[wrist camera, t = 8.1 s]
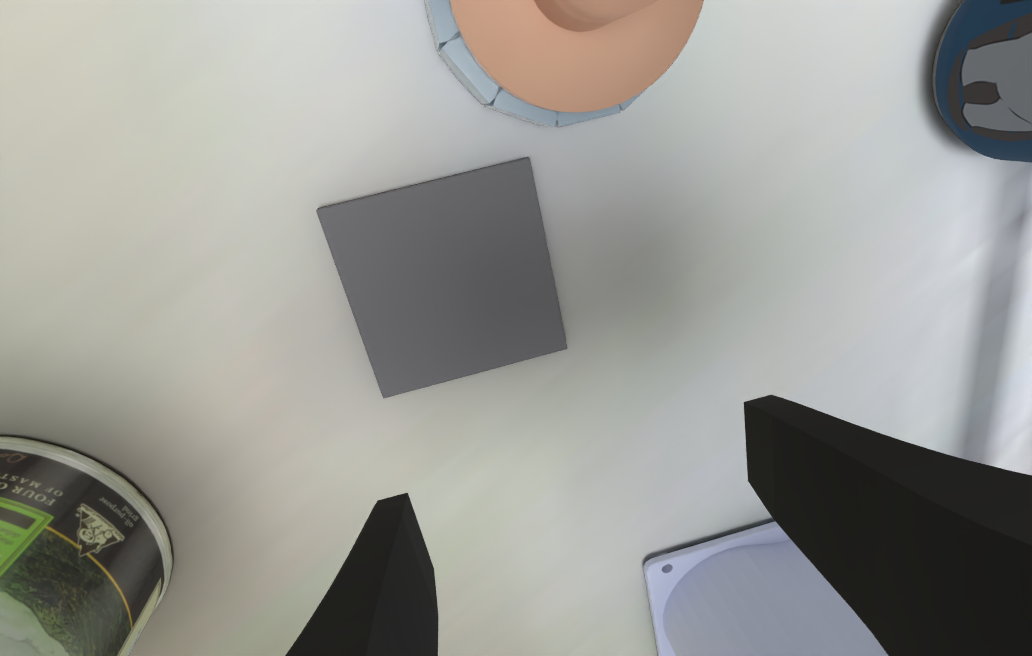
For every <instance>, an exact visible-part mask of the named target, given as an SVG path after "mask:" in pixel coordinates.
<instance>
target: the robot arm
mask: <svg viewBox="0 0 1032 656" xmlns="http://www.w3.org/2000/svg"><path fill="white" fill-rule="evenodd" d="M744 414H745V433H746V452H747V470H748V481H749V483H750V484H751V486H752V487H753V489H754V490H755V492H756V494H757V495H758V497H759V498H760V500H761V501H762V503H763V504H764V506H765V507H766V509H767V510H768V511H769V513H770V514H771V516H772V517H773V519H774V520H775V521H774V522H771V523H768V524H764V525H761V526H758V527H754V528H751V529H748V530H744V531H741V532H738V533H734V534H731V535H728V536H724V537H721V538H718V539H714V540H711V541H708V542H704V543H701V544H698V545H694V546H691V547H688V548H684V549H681V550H678V551H674V552H671V553H668V554H664V555H661V556H658V557H654V558H651V559H649V560H648V561H647V562H646V563H645V565H644V574H645V580H646V586H647V592H648V598H649V604H650V610H651V616H652V622H653V628H654V634H655V640H656V646H657V652H658V656H1032V476H1031V475H1027V474H1022V473H1018V472H1013V471H1009V470H1005V469H1001V468H997V467H993V466H989V465H985V464H981V463H977V462H973V461H969V460H965V459H961V458H957V457H954V456H950V455H947V454H943V453H940V452H937V451H933V450H930V449H927V448H924V447H920V446H917V445H914V444H911V443H908V442H904V441H901V440H898V439H895V438H892V437H889V436H886V435H883V434H880V433H878V432H875V431H872V430H869V429H866V428H863V427H861V426H858V425H855V424H852V423H850V422H847V421H844V420H841V419H839V418H836V417H833V416H831V415H828V414H825V413H822V412H820V411H817V410H814V409H812V408H809V407H806V406H803V405H801V404H798V403H795V402H792V401H789V400H786V399H783V398H780V397H777V396H774V395H768V396H765V397H761V398H757V399H754V400H750V401H746V402H744ZM666 564H668V565H666ZM664 565H666V566H664ZM663 566H664V567H663ZM285 656H438V608H437V596H436V586H435V576H434V568H433V565H432V562H431V559H430V556H429V553H428V550H427V547H426V545H425V542H424V539H423V536H422V533H421V530H420V527H419V524H418V521H417V519H416V516H415V513H414V510H413V507H412V504H411V501H410V498H409V495H408V493H404V494H401V495H397V496H393V497H390V498H386V499H382V500H378V501H377V503H376V504H375V506H374V508H373V509H372V511H371V513H370V515H369V517H368V519H367V521H366V523H365V525H364V527H363V529H362V531H361V532H360V534H359V536H358V538H357V540H356V542H355V544H354V546H353V548H352V549H351V551H350V553H349V555H348V557H347V559H346V560H345V562H344V564H343V566H342V567H341V569H340V571H339V573H338V574H337V576H336V578H335V580H334V581H333V583H332V585H331V587H330V588H329V590H328V592H327V593H326V595H325V596H324V598H323V600H322V601H321V603H320V604H319V606H318V607H317V609H316V611H315V612H314V614H313V615H312V617H311V618H310V620H309V622H308V623H307V625H306V626H305V628H304V629H303V631H302V632H301V634H300V635H299V637H298V638H297V640H296V641H295V643H294V644H293V646H292V647H291V648H290V650H289V651H288V653H287V654H286V655H285Z"/></svg>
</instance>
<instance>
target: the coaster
mask: <svg viewBox="0 0 1032 656" xmlns="http://www.w3.org/2000/svg"><path fill="white" fill-rule="evenodd" d="M316 211H317V214H318V217H319V220H320V223H321V225H322V228H323V231H324V234H325V237H326V239H327V242H328V245H329V248H330V251H331V253H332V256H333V259H334V262H335V265H336V267H337V270H338V273H339V276H340V279H341V281H342V284H343V287H344V290H345V293H346V295H347V298H348V301H349V304H350V307H351V309H352V312H353V315H354V318H355V321H356V323H357V326H358V329H359V332H360V335H361V337H362V340H363V343H364V346H365V349H366V351H367V354H368V357H369V360H370V363H371V365H372V368H373V371H374V374H375V377H376V379H377V382H378V385H379V388H380V391H381V393H382V396H383V398H387V397H390V396H394V395H398V394H402V393H405V392H409V391H413V390H416V389H420V388H424V387H427V386H431V385H435V384H439V383H442V382H446V381H450V380H453V379H457V378H461V377H465V376H468V375H472V374H476V373H479V372H483V371H487V370H490V369H494V368H498V367H502V366H505V365H509V364H513V363H516V362H520V361H524V360H527V359H531V358H535V357H539V356H542V355H546V354H550V353H553V352H557V351H561V350H564V349H567V344H566V339H565V334H564V329H563V324H562V319H561V314H560V309H559V304H558V299H557V294H556V289H555V284H554V279H553V274H552V269H551V264H550V259H549V254H548V249H547V244H546V239H545V234H544V229H543V224H542V219H541V214H540V209H539V204H538V199H537V194H536V189H535V184H534V179H533V174H532V169H531V164H530V159H529V158H528V157H526V158H522V159H518V160H514V161H510V162H506V163H501V164H497V165H493V166H489V167H485V168H481V169H477V170H473V171H469V172H465V173H461V174H457V175H452V176H448V177H444V178H440V179H436V180H432V181H428V182H424V183H420V184H416V185H412V186H408V187H403V188H399V189H395V190H391V191H387V192H383V193H379V194H375V195H371V196H367V197H363V198H359V199H354V200H350V201H346V202H342V203H338V204H334V205H330V206H326V207H322V208H318V209H317V210H316Z"/></svg>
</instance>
